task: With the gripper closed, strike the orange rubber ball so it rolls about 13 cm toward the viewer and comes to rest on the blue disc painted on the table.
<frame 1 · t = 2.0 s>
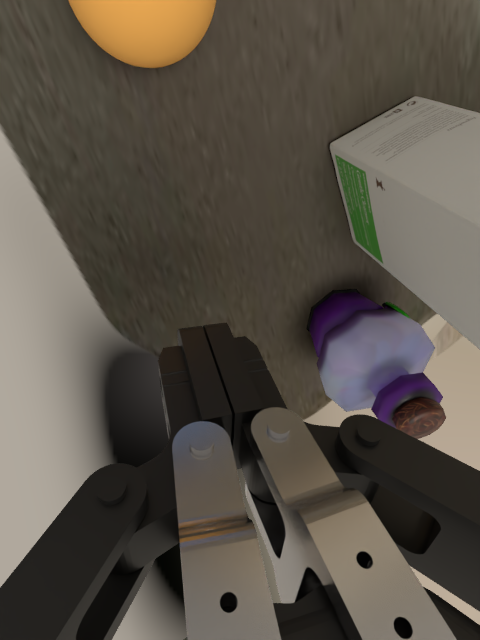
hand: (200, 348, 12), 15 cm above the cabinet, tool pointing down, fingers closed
skincare box: (382, 174, 27), on the cabinet
potion bottle: (335, 314, 34), on the cabinet
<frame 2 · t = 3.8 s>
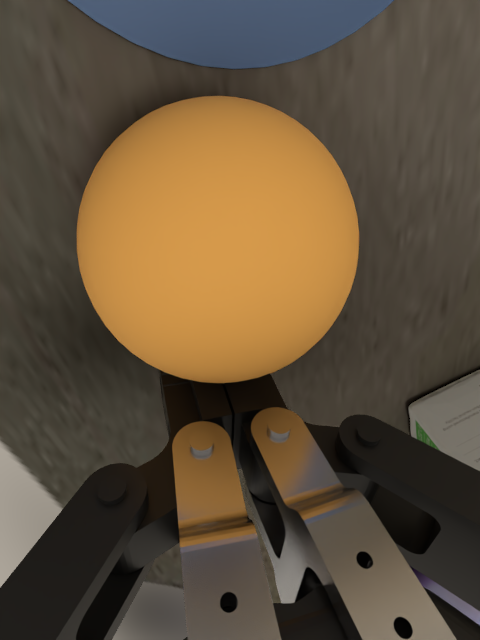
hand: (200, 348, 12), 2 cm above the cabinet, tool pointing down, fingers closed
skincare box: (459, 413, 23), on the cabinet
potion bottle: (381, 521, 30), on the cabinet
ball: (220, 248, 9), on the cabinet, touching gripper
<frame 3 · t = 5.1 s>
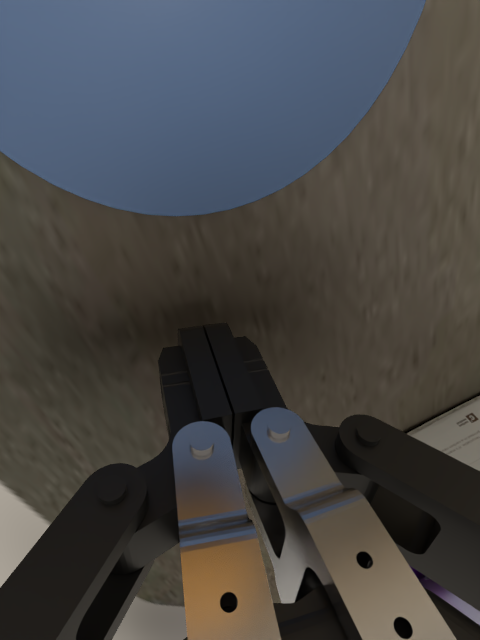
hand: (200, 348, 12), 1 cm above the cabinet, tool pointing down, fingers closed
skincare box: (444, 442, 25), on the cabinet
potion bottle: (380, 537, 31), on the cabinet
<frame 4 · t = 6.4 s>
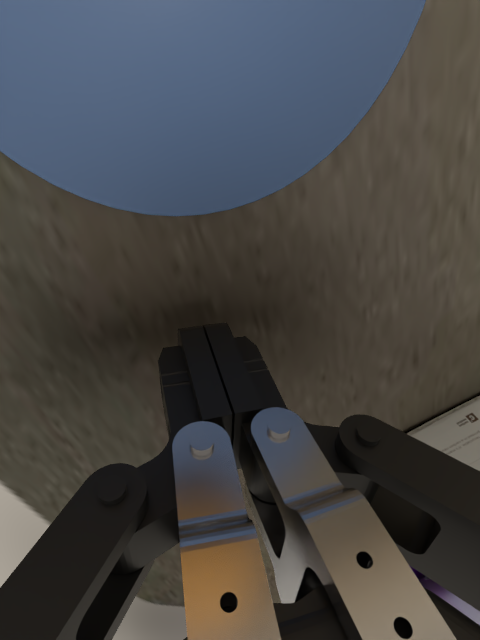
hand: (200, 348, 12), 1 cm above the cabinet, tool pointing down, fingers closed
skincare box: (444, 442, 25), on the cabinet
potion bottle: (380, 537, 31), on the cabinet
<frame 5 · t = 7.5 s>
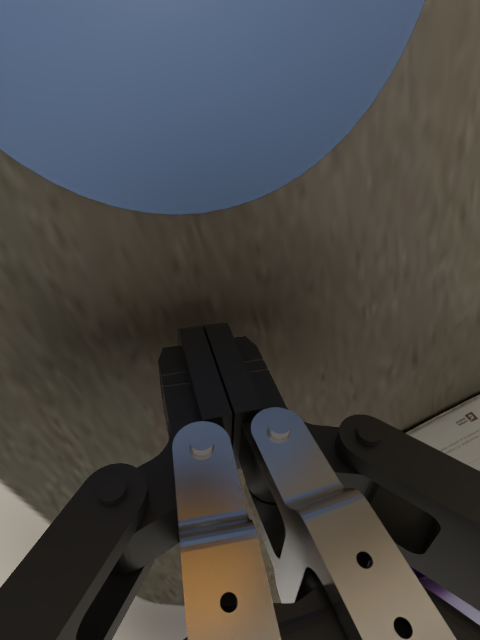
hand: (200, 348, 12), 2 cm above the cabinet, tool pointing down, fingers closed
skincare box: (443, 442, 25), on the cabinet
potion bottle: (379, 537, 31), on the cabinet
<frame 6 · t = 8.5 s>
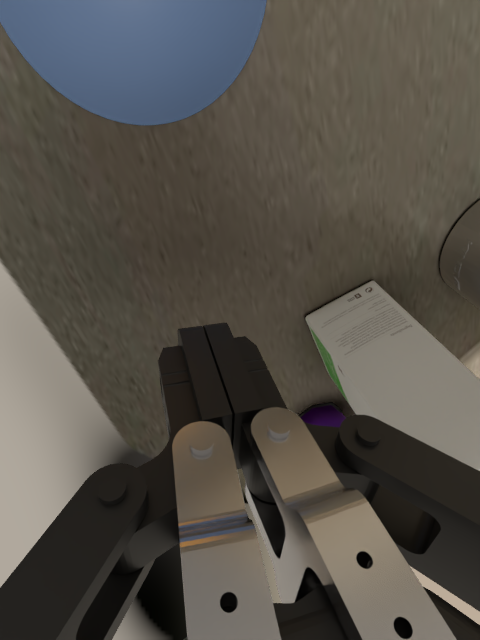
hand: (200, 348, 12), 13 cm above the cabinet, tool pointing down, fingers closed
skincare box: (349, 327, 34), on the cabinet
potion bottle: (315, 420, 41), on the cabinet
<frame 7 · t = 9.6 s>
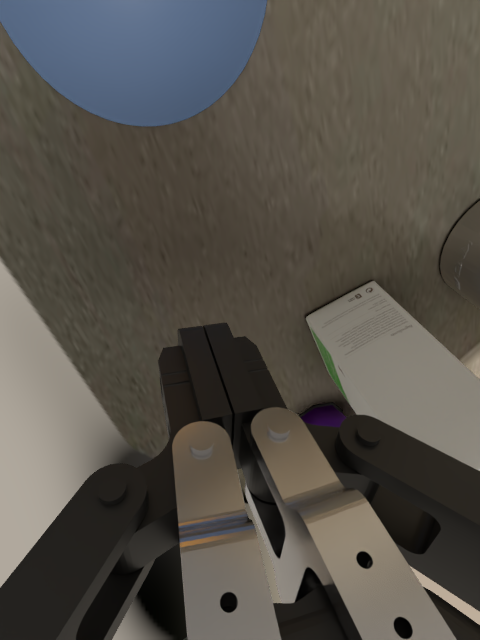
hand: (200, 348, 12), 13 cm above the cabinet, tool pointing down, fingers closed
skincare box: (350, 327, 34), on the cabinet
potion bottle: (316, 420, 41), on the cabinet
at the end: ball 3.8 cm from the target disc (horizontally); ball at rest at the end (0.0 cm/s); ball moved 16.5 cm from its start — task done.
